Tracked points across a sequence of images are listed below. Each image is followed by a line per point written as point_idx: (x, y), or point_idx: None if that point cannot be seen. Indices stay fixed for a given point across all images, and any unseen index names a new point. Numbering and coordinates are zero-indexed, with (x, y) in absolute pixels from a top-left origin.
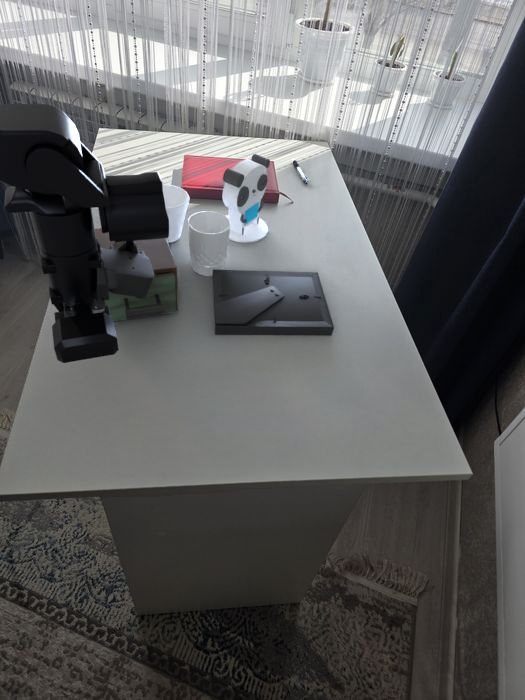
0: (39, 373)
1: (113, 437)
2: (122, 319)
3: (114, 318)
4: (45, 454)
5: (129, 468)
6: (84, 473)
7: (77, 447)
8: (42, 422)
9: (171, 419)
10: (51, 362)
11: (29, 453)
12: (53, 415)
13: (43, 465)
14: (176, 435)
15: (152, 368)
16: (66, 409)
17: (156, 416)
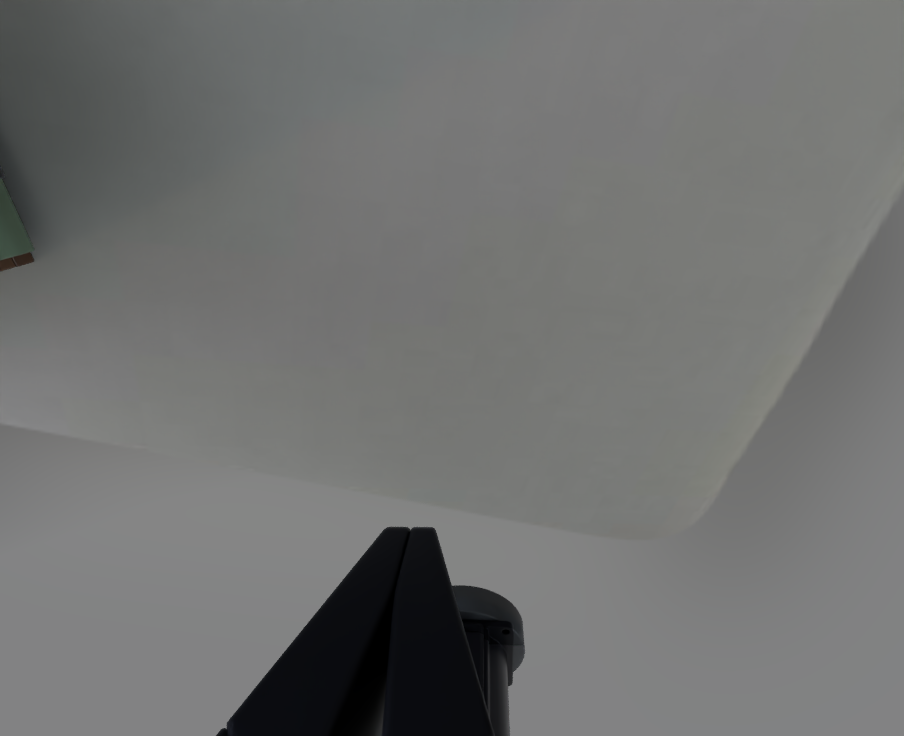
0: (309, 470)
1: (631, 286)
2: (3, 187)
3: (7, 227)
4: (613, 468)
5: (791, 246)
6: (729, 383)
7: (624, 394)
8: (498, 470)
9: (638, 19)
10: (264, 440)
11: (593, 499)
12: (480, 445)
13: (647, 473)
14: (739, 8)
15: (305, 73)
16: (465, 413)
17: (594, 97)
